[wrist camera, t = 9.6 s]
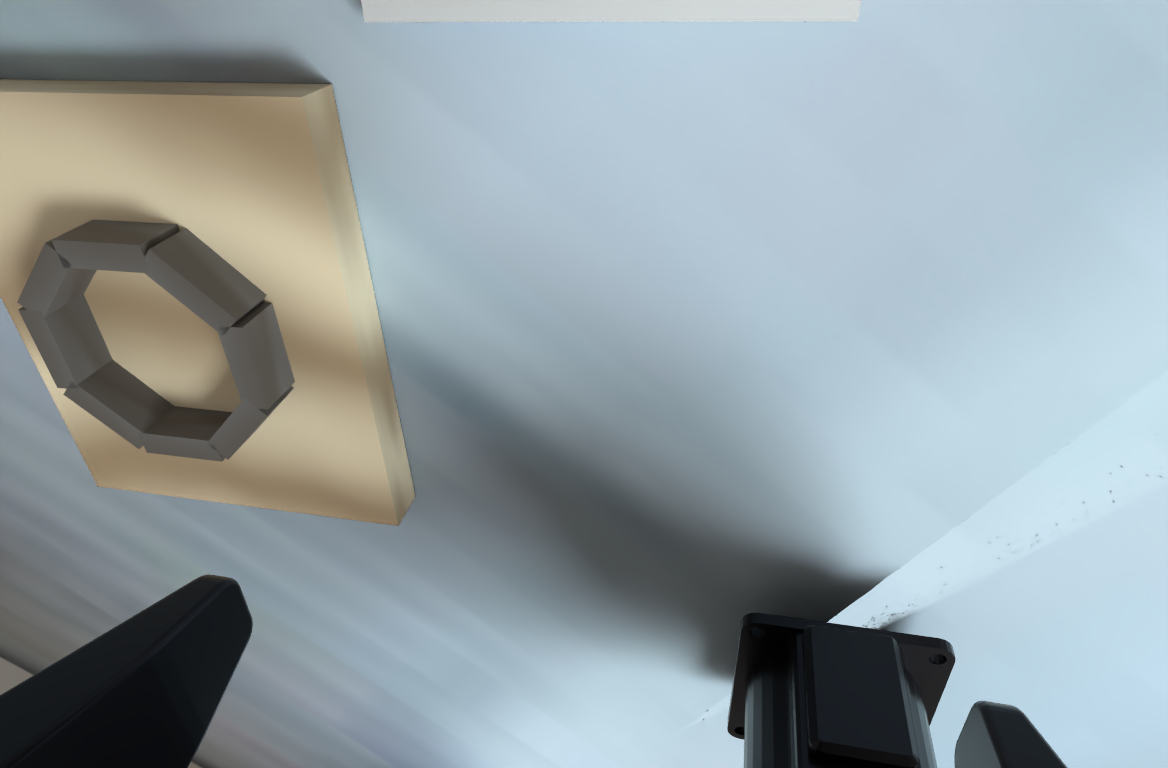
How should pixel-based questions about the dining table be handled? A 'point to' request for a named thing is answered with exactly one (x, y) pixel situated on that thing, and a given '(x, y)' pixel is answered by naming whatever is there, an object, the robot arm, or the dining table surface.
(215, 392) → the eye plate
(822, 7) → the mat
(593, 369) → the dining table surface
